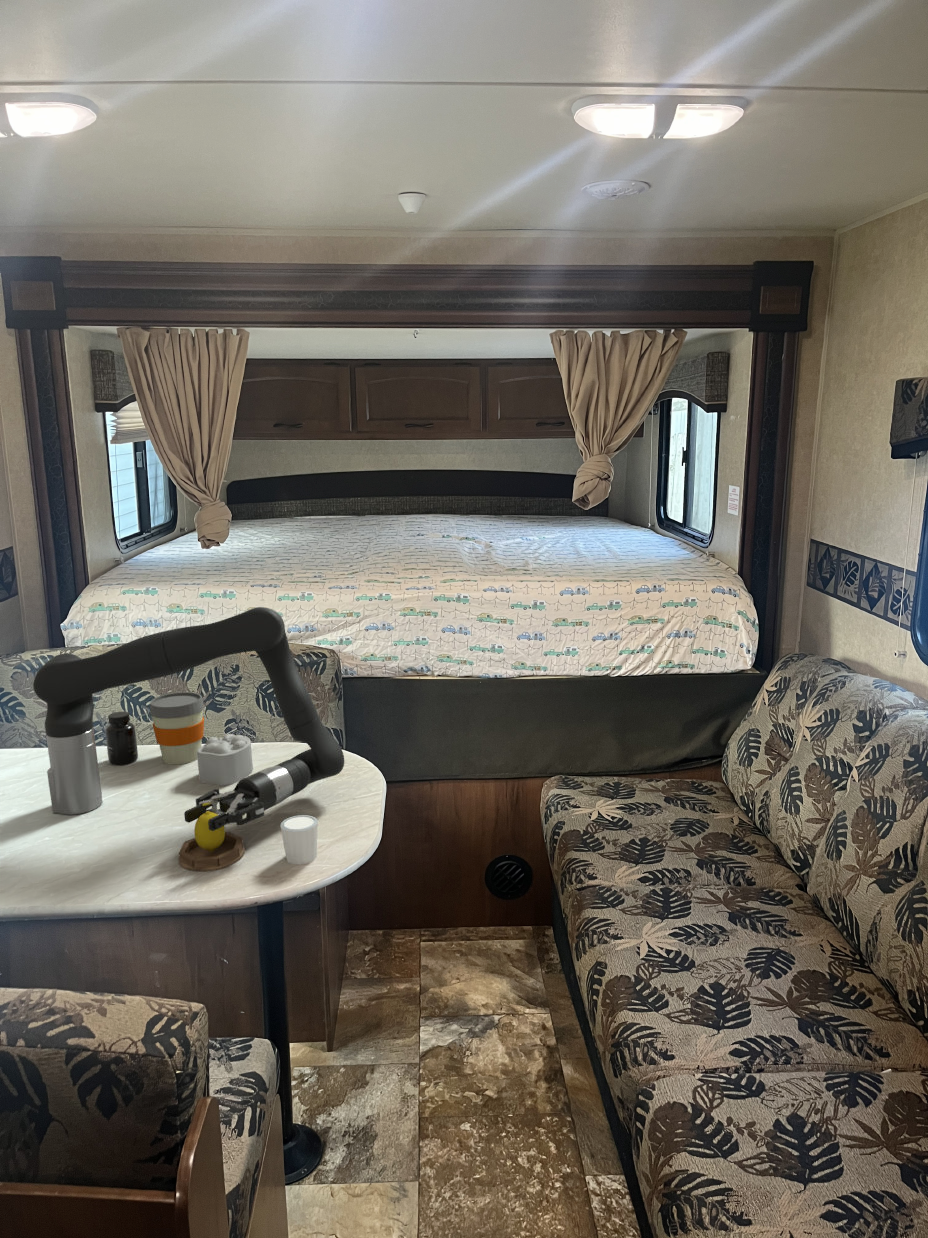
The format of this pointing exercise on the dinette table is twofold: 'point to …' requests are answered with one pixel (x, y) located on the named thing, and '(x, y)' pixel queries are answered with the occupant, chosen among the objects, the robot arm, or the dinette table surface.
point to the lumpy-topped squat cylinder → (225, 760)
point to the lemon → (208, 833)
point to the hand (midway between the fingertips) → (198, 821)
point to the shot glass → (300, 838)
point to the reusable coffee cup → (178, 725)
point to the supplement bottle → (121, 739)
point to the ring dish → (211, 854)
